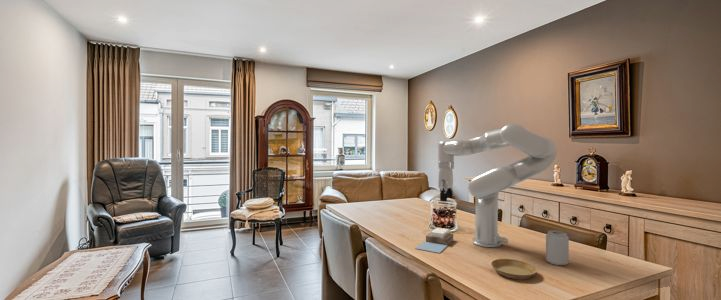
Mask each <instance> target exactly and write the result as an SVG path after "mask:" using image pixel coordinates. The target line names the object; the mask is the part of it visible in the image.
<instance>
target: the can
mask: <svg viewBox="0 0 721 300" xmlns="http://www.w3.org/2000/svg"><path fill="white" fill-rule="evenodd" d="M569 245H570V238H569V236H568V233H567V232H565V231H560V230H554V229H553V230H548V231H547V233H546V234H545V260H546V261H547V262H548V263H549V262H550V263H549V264H551V263H552V264H551V265H553V264H555V265H554V266H558V265H564V266H566V265H568V264H569V263H570V262H569V261H570V257H569V255H570V254H569V251H570V247H569Z"/></svg>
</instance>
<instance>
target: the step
mask: <svg viewBox="0 0 721 300" xmlns="http://www.w3.org/2000/svg"><path fill="white" fill-rule="evenodd" d="M453 241H454V233H450V232H449V234H448V235H446V236H445V237H444V238H440V237H433V236H431V232H430V233H428V234H426V235H425V242H430V243H436V244H442V245H450V244H451V243H452V242H453Z"/></svg>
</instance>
